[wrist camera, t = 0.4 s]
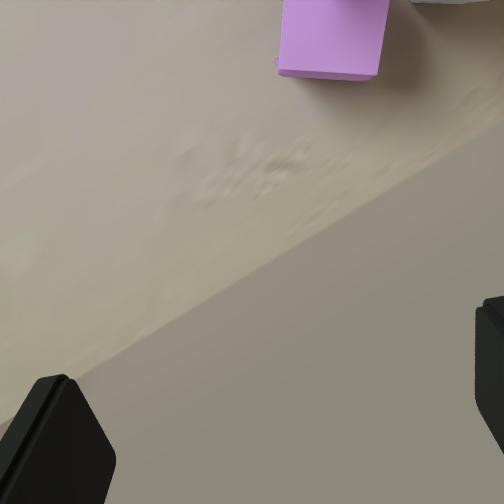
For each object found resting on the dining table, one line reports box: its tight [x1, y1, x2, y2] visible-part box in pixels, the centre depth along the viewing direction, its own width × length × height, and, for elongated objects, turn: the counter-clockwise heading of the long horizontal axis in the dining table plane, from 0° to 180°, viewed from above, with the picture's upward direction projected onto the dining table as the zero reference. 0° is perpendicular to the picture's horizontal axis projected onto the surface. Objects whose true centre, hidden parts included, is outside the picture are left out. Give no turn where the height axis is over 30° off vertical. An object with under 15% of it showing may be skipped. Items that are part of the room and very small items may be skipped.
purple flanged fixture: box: [275, 0, 390, 81], centre depth 27 cm, size 8×9×15 cm
